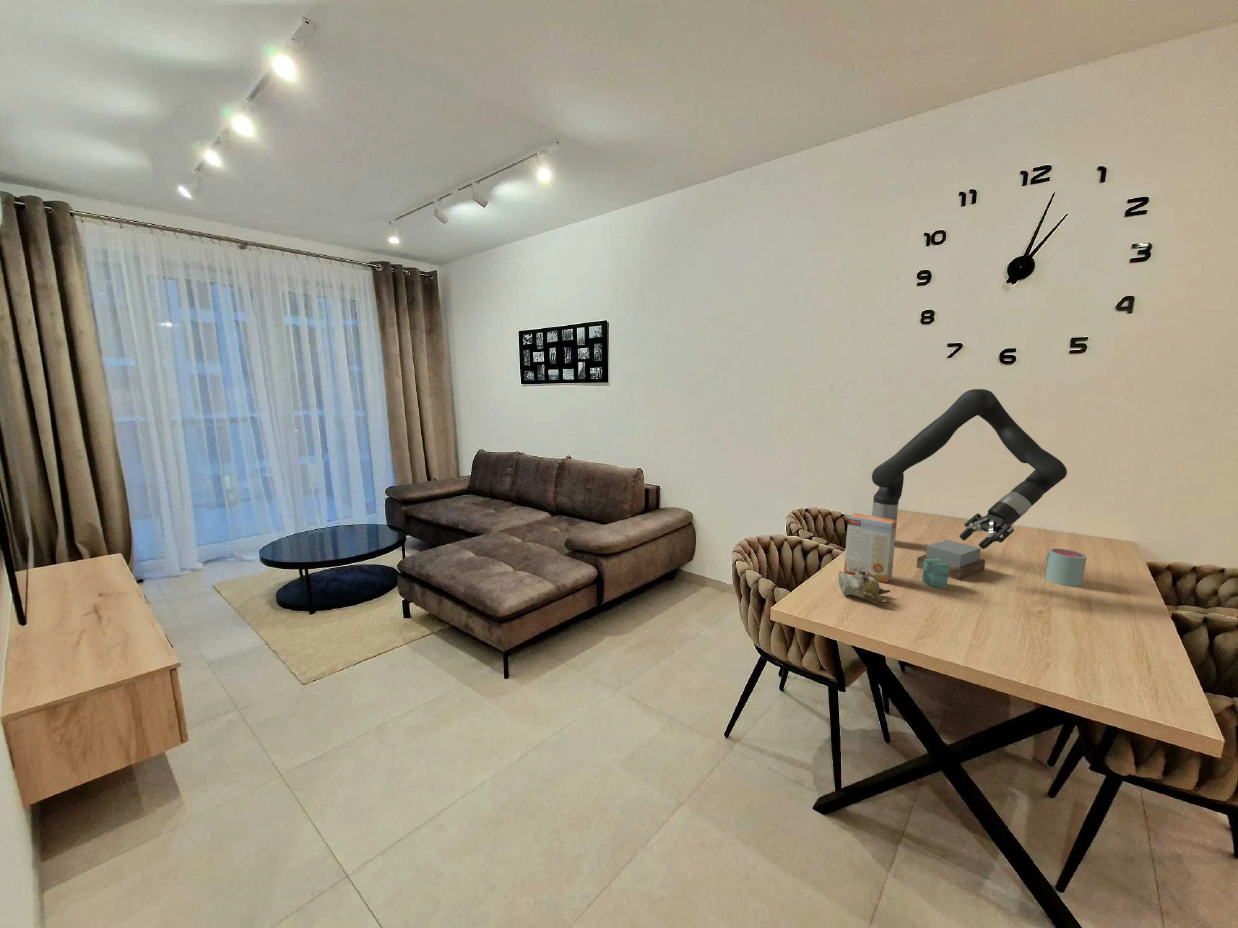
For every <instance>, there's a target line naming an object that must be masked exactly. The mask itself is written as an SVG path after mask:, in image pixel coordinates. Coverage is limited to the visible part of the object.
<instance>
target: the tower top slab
mask: <svg viewBox="0 0 1238 928" xmlns="http://www.w3.org/2000/svg"><path fill="white" fill-rule="evenodd" d="M981 549H982V548H981V547H979V546H978V547H977V546H973V545H969V544H966V543H962V542H959V541H953V540H949V539H945V540H942V541H939V542H935V543H932V544H928V545H926V558H929V559H940V560H942V561H944V562H946V563H948V564H950V565H953V566H956V567H962V566H965V565H968V564H970V563H973V562H976V561H979V559H981Z"/></svg>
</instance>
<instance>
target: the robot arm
mask: <svg viewBox="0 0 1238 928" xmlns="http://www.w3.org/2000/svg"><path fill="white" fill-rule="evenodd" d="M976 416H979V417H980V418H981V419H983V420H984V421H985V422H986V423H988V424H989V425H990V426H991V427H992V429H993V431H995V433H996V434H997V436H998V437H999V439H1000V440H1001V442H1002V443H1003V445H1004V446H1005V448H1006V449H1007V450H1008V451H1009V452H1010V453H1011V454H1012V455H1013V456H1014V457H1015V458H1016V459H1017V460H1018V461H1019V463H1022V464H1028V465H1029V466H1031V468H1033V469H1034V470H1033V471H1032V472H1031V473H1030V474H1029V475H1028V476H1027V477H1026V478H1025V479H1024V480H1023V481H1021V482H1020V483H1019V484H1017V485H1016V486H1015V487H1014V488H1012V490H1011V491H1009V492H1008V493H1006V494H1004V495H1003V496H1002V497H1001V498H1000V499H999V500H998V501H997V502H995V504H993V505H992V506H991V507H990V508H989V509H988V510H987V514H986V515H981V514H980V513H979V512H978V513H976V514H975V515H973V516H972V517H971V518H970V519H969V520H967V521H966V522H965V523H964V524H963V525H964V526H965V529H964V530H963V531H962V532H961V533H960V534H959V536H958V537H959V538H960V540H962V541H966V540H968V538H970V536H972V534H974V533H976V532H987V533H988V536H986V537H985V538H984V539H982V540H981V541H980V542H979V543H978V547H979V548H981V549H982V550H985V549H987V548H988V547H990V546H991V545H992V544H993V543H996V542H998V543H1003V542H1004V541H1005V540H1006V539H1007V538H1008V537H1010V536H1011V534H1012V533H1014V531H1015V529H1014V528H1013V527H1012V525H1014V523H1016V522H1017V521H1018V520H1019V519H1021V518H1022V516H1024V515H1025V514H1026V513H1027V512H1028V511H1029V509H1030V508H1032V507H1033V505H1034V506H1035V504H1036V503H1037V502H1038V501H1040V499H1042V497H1043V496H1044V495H1045V494H1046V493H1047V492H1049V491H1050V490H1051V489H1052V488H1053V487H1055V486H1056V485H1057V484H1059V483H1060V482H1062V481H1063V480H1064V479H1065V478H1066V477H1067V474H1068V470H1067V467H1066V465H1065V464H1064V463H1063V462H1062V461H1061V460H1060V459H1058V458H1057V457H1056V456H1054V455H1053V454H1051V453H1050V452H1048V451H1047V450H1045V449H1044V448H1042V447H1041V446H1040V445H1039V444H1038V443H1037V442H1036V441H1035V440H1034V439H1033V438H1032V437H1031V436H1030V435H1029V434H1028V433H1027V432H1026V431H1025V430H1024V429H1023V428H1022V427H1021V426H1019V424H1018V423H1017V422H1016V421H1015V420H1014V419H1013V418H1012V417H1011V416H1010V414H1009V413H1008V412H1007V411H1006V409H1005V408H1004V407H1003V405H1002V403H1001V402H1000V401H999V399H998V398H997V397H996V395H995V394H994V393H993V391H991V390H988V389H986V388H985V389H983V388H977V389H976V388H974V389H969V390H967V391H965V392H963V393H961V395H960V396H959V397H958V398H957V399H956V400H955V401H954V402H953V403H952V404H951V406H950V407H948V409H947V410H945V411H944V412H943V414H941V415H940V416H938V417H937V418H935V419H934V420H933V421H932V422H931V423H929V424H927V426H925V428H923V429H922V430H921V431H920V432H918V433H917V434H916V435H914V437H912V438H911V439H910V440H909V441H908V442H906V444H905V445H904V446H902V448H900V449H899V450H898V451H897V452H896V453H895V454H894V455H892V456H891V457H890V458H888V459H887V460H885V461H883V462H882V463H881V464H880V465H877V467H875V468H874V469H873V471H872V473H871V480H872V482H873V484H874V485H875V486H877V487H878V489H877V491H876V492H875V493H874V495H873V502H872V511H871V512H872V513H871V516H874V517H880V518H885V519H891V520H898V513H899V511H898V510H899V504H900V503H899V501H900V499H901V497H902V494H903V486H904V481H905V480H904V478H905V475H904V472H905V471H907V470H908V469H910V468H912V467H914V466H915V465H918V464H920V463H922V462H923V461H925V460H927V459H929V458H930V457H931V456H933V455H935V454H936V453H937V452H938V451H939V450H941V449H942V448H944V446H945V445H946V444H947V443H948V442H950V440H951V438H952V437H953V436H954V434H955V433H956V431H958V429H959V428H961V427H962V426H964V424H966V423H968V422H969V421H970V420H972V419H973V418H975V417H976Z"/></svg>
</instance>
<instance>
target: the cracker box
mask: <svg viewBox="0 0 1238 928" xmlns="http://www.w3.org/2000/svg"><path fill="white" fill-rule="evenodd" d="M897 520H898V519H897ZM897 520H891V519H885V518H880V517H874V516H872V515H867V514H861V513H856V512H854V513H853V514H850V515H848V519H847V530H846V542H845V555H844V565H843V566H844V567H843V573H846V574H848V575H852V576H853V575H855V574H856V573H859V572H865V574H866V575H867V576H870V577H873V578H875V579H876V580H877V581H878V582H880V583H885V584H886V583H888V582H889V581H891V580H892V578H893V577H892V576H893V569H894V568H893V567H894V566H893V565H894V557H895V546H896V538H897V537H896V536H897V525H898V521H897Z"/></svg>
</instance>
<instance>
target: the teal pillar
mask: <svg viewBox="0 0 1238 928" xmlns="http://www.w3.org/2000/svg"><path fill="white" fill-rule="evenodd" d="M949 565H950V564H948V563H946V562H944V561H942V560H940V559H924V568H923V569H922V579H921V582H922V583H923V584H925V585H927V586H929V587H930V588H932V589H933V588H934V589H935V588H937V589H939V588H940V589H941V588H942V589H943V588H944V589H946V588H947V587H948V582H949V581H948V580H949V577H948V573H949Z"/></svg>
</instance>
